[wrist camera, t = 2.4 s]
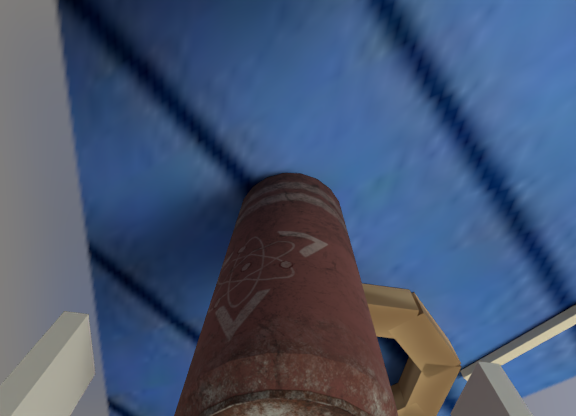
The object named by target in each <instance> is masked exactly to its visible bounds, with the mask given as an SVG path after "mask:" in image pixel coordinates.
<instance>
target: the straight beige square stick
mask: <svg viewBox="0 0 576 416" xmlns="http://www.w3.org/2000/svg"><path fill="white" fill-rule="evenodd" d="M575 324H576V305H574V306H572V307H571V308H569V309H567V310H565V311H564V312H562V313H560V314H559V315H557V316H555V317H553V318H552V319H550V320H548V321H546V322H545V323H543V324H541V325H539V326H538V327H536V328H534V329H532V330H531V331H529V332H527V333H525V334H524V335H522V336H520V337H518V338H517V339H515V340H513V341H511V342H510V343H508V344H506V345H504V346H503V347H501V348H499V349H497V350H496V351H494V352H492V353H491V354H489V355H487V356H485V357H484V358H482V359H480V360H478V361H479V362H487V363H496V364H500V366H501V365H503V364H505V363H507V362H508V361H510V360H512V359H514V358H516V357H517V356H519V355H521V354H523V353H525V352H526V351H528V350H530V349H532V348H534V347H535V346H537V345H539V344H541V343H543V342H544V341H546V340H548V339H550V338H552V337H553V336H555V335H557V334H559V333H561V332H562V331H564V330H566V329H568V328H570V327H571V326H573V325H575ZM478 361H477V362H478ZM477 362H475V363H473V364H471V365H470V366H468V367H466V368H464V369H463V370H461V371H460V372H461V374H462V376H463V378H464V379H466V380H467V381H468V379H469V378H470V376H471V374H472V372H473V370H474V368H475V366H476V364H477Z"/></svg>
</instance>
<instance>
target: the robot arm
mask: <svg viewBox="0 0 576 416" xmlns="http://www.w3.org/2000/svg"><path fill="white" fill-rule="evenodd" d="M94 375H95V367H94V358H93V350H92V340H91V333H90V323H89V315H88V314H83V313H75V312H67V311H64V312H63V313H62V314H61V316H60V317H59V318H58V319H57V320H56V322H55V323H54V324H53V325H52V326H51V327H50V328H49V330H48V331H47V332H46V333H45V334H44V335H43V337H42V338H41V339H40V340H39V341H38V342H37V343H36V345H35V346H34V347H33V348H32V349H31V351H30V352H29V353H28V354H27V355H26V356H25V358H24V359H23V360H22V361H21V362H20V363H19V364H18V366H17V367H16V368H15V369H14V370H13V371H12V373H11V374H10V375H9V376H8V378H6V380H5V381H4V382H3V383H2V384H1V385H0V416H70V415H71V413H72V412H73V410H74V408H75V407H76V405H77V403H78V402H79V400H80V398H81V397H82V395H83V393H84V392H85V390H86V389H87V387H88V385H89V384H90V382H91V380H92V378H93V377H94ZM451 416H533V415H532V413H531V412H530V410H529V409H528V407H527V406H526V404H525V403H524V401H523V399H522V398H521V396H520V395H519V393H518V392H517V390H516V389H515V387H514V386H513V384H512V383H511V381H510V380H509V378H508V376H507V375H506V373H505V372H504V370H503V369H502V367H501V366H500V364H496V363H487V362H479V361H478V362H477V364H476V366H475V368H474V370H473V372H472V374H471V376H470V378H469V379H468V381H467V383H466V385H465V387H464V389H463V391H462V393H461V395H460V397H459V399H458V401H457V402H456V404H455V406H454V408H453V410H452V412H451Z"/></svg>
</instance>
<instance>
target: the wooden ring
mask: <svg viewBox="0 0 576 416" xmlns="http://www.w3.org/2000/svg"><path fill="white" fill-rule="evenodd" d="M362 286H363V290H364V293H365V297H366V300H367V304H368V307H369V311H370V315H371V318H372V322H373V325H374V329H375V332H376V336H378V337H386V338H394V339H395V340H396V341H397V342H398V343H399V344H400V346H401V347H402V348H403V349H404V351H405V352H406V353H407V354H408V355H409V358H408V361H407V363H406V365H405V368H404V370H403V373H402V375H401V377H400V380H399V382H398V383H397V384H394V385H392V386H391V390H392V393H393V397H394V400H395V404H396V408H397V412H398V416H436V415H437V414H438V412H439V410H440V408H441V406H442V404H443V402H444V400H445V398H446V396H447V394H448V392H449V390H450V388H451V386H452V384H453V383H454V381H455V379H456V377H457V375H458V373H459V371H460V369H461V366H460V364H461V362H460V360H459V358H458V357H457V355H456V353H455V351H454V349H453V347H452V345H451V343H450V341H449V340H448V338H447V337H446V335H445V334H444V333H443V331H442V330H441V329H440V327H439V326H438V324H437V323H436V322H435V320H434V319H433V318H432V316H431V315H430V314H429V312H428V311H427V309H426V308H425V307H424V305H423V304H422V303H421V301H420V300H419V298H418V297H417V296H416V294H415V293H414V292H413V293H411V292H410V290H407V289H400V288H392V287H385V286H377V285H370V284H362Z"/></svg>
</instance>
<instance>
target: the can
mask: <svg viewBox="0 0 576 416" xmlns="http://www.w3.org/2000/svg"><path fill="white" fill-rule="evenodd" d="M174 416H398V412H397V408H396V404H395V400H394V397H393V393H392V390H391V386H390V383H389V379H388V375H387V372H386V368H385V365H384V361H383V358H382V354H381V350H380V347H379V343H378V340H377V336H376V332H375V329H374V325H373V322H372V318H371V315H370V311H369V307H368V304H367V300H366V297H365V293H364V290H363V286H362V282H361V279H360V275H359V272H358V268H357V264H356V261H355V257H354V254H353V250H352V247H351V243H350V239H349V236H348V232H347V229H346V225H345V221H344V218H343V214H342V211H341V207H340V204H339V201H338V200H337V198H336V197H335V195H334V194H333V192H332V191H331V189H330V188H328V187H327V186H326V185H324V184H323V183H322V182H320V181H319V180H318V179H316V178H313V177H310V176H307V175H304V174H300V173H282V174H278V175H275V176H271V177H267V178H266V179H264V180H263V181H261V182H260V183H258V184H256V185H255V186H253V188H252V189H251V190H250V192H249V193H248V194H247V195H246V197H245V198H244V200H243V203H242V206H241V209H240V212H239V215H238V218H237V221H236V224H235V228H234V231H233V234H232V237H231V240H230V243H229V246H228V249H227V253H226V256H225V259H224V262H223V265H222V268H221V271H220V274H219V278H218V281H217V284H216V287H215V290H214V293H213V296H212V299H211V303H210V306H209V309H208V312H207V315H206V318H205V321H204V324H203V328H202V331H201V334H200V337H199V340H198V343H197V346H196V349H195V353H194V356H193V359H192V362H191V365H190V368H189V371H188V374H187V377H186V381H185V384H184V387H183V390H182V393H181V396H180V399H179V402H178V406H177V409H176V412H175V415H174Z"/></svg>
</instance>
